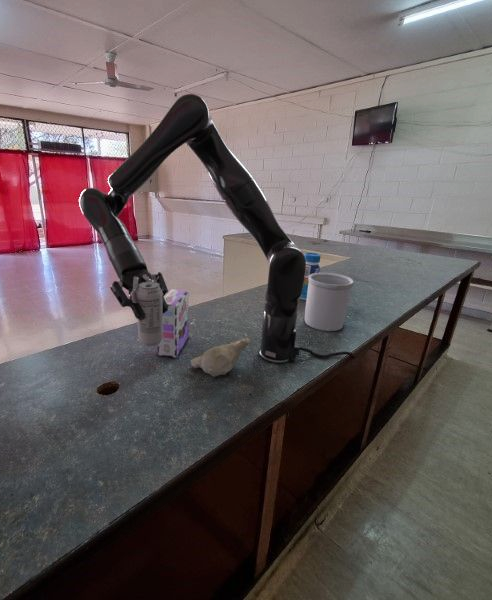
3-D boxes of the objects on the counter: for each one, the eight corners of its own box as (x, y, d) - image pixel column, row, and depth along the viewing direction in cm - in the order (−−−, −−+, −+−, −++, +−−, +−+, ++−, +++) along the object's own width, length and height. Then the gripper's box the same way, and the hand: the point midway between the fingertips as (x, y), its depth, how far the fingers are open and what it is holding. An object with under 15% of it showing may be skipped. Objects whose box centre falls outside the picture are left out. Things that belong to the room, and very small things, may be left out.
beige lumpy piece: (191, 390, 81) (237, 367, 74) (180, 363, 83) (224, 338, 76) (220, 378, 94) (261, 358, 87) (210, 355, 96) (250, 334, 89)
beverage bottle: (293, 294, 147) (299, 252, 140) (311, 294, 148) (317, 252, 141) (300, 301, 139) (307, 256, 132) (319, 300, 140) (326, 256, 133)
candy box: (176, 358, 91) (176, 305, 85) (157, 356, 92) (155, 303, 86) (189, 337, 104) (189, 289, 98) (171, 335, 105) (171, 288, 99)
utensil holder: (337, 336, 107) (347, 287, 101) (296, 324, 116) (302, 278, 109) (349, 322, 118) (358, 277, 112) (310, 312, 127) (317, 270, 120)
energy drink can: (165, 336, 82) (164, 281, 77) (160, 348, 76) (158, 289, 71) (142, 335, 82) (140, 280, 77) (135, 346, 77) (132, 287, 71)
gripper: (102, 252, 72) (133, 316, 68) (155, 245, 81) (184, 301, 78) (94, 270, 77) (122, 330, 73) (144, 261, 87) (171, 314, 83)
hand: (154, 315), depth 76 cm, fingers closed on energy drink can, 6 cm apart
